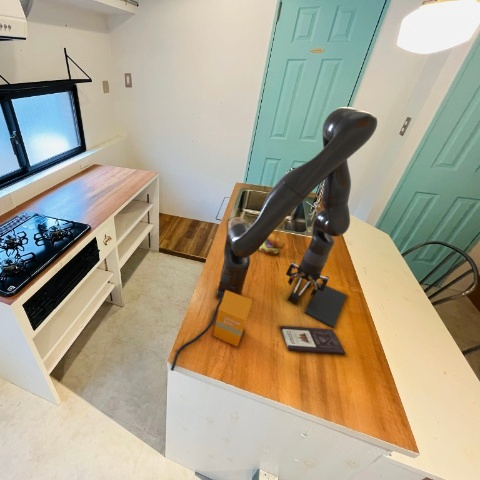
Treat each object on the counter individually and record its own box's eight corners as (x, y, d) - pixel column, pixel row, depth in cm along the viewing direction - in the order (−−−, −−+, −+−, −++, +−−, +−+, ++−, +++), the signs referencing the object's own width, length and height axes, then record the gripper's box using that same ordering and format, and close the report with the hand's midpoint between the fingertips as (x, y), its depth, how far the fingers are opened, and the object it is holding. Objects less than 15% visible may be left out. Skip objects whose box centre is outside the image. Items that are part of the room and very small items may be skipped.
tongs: (298, 306, 101) (300, 300, 99) (285, 299, 104) (288, 294, 102) (310, 284, 111) (313, 279, 109) (298, 279, 114) (301, 274, 112)
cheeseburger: (255, 243, 135) (264, 228, 129) (273, 247, 136) (283, 233, 131) (260, 255, 127) (270, 239, 121) (280, 259, 128) (290, 244, 122)
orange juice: (237, 347, 86) (250, 308, 75) (212, 335, 90) (221, 297, 78) (243, 329, 92) (255, 291, 80) (219, 319, 95) (228, 281, 84)
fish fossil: (248, 243, 135) (248, 241, 135) (228, 241, 137) (228, 240, 137) (245, 218, 156) (245, 216, 155) (227, 217, 158) (228, 215, 157)
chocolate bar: (345, 352, 84) (289, 348, 85) (344, 354, 84) (289, 350, 85) (332, 329, 91) (281, 325, 92) (331, 331, 92) (280, 327, 93)
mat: (333, 328, 93) (333, 327, 93) (304, 313, 98) (305, 312, 98) (346, 296, 106) (346, 295, 105) (320, 284, 111) (320, 283, 111)
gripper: (291, 255, 98) (280, 285, 107) (332, 272, 90) (316, 303, 99) (298, 247, 102) (286, 276, 111) (338, 262, 94) (322, 292, 104)
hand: (300, 289), depth 105 cm, fingers open, 8 cm apart
